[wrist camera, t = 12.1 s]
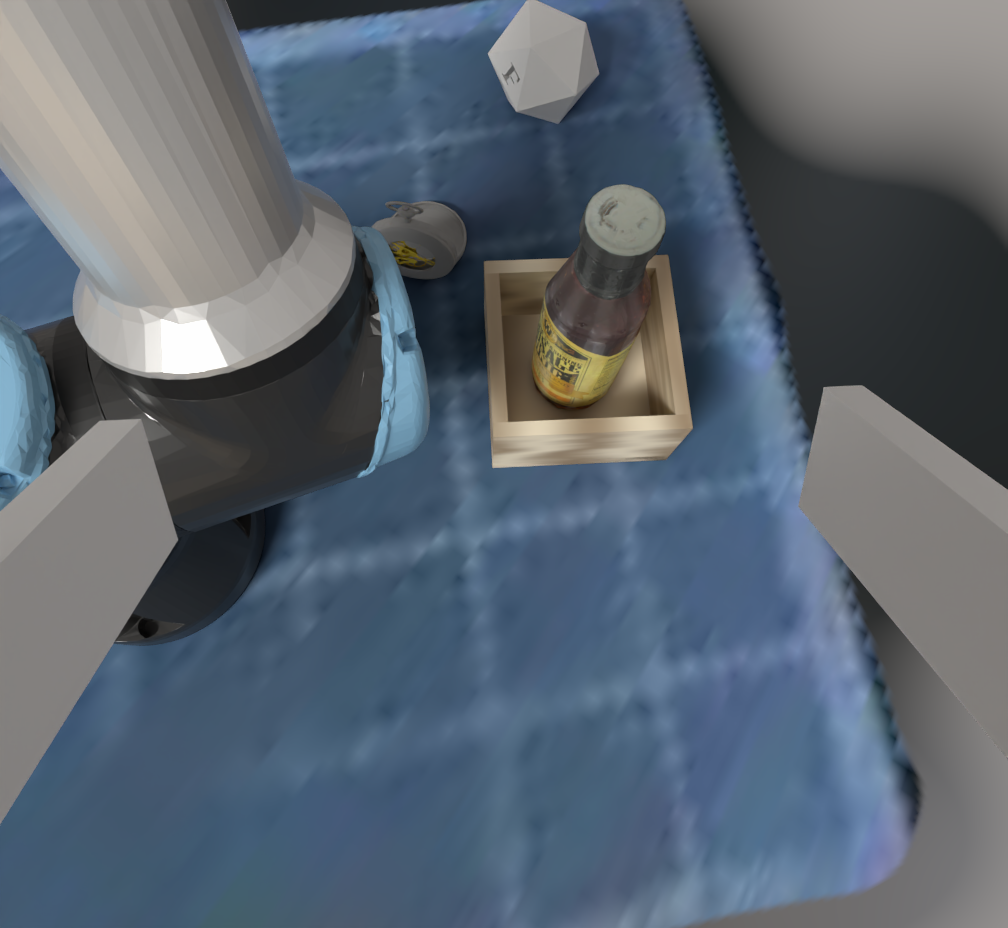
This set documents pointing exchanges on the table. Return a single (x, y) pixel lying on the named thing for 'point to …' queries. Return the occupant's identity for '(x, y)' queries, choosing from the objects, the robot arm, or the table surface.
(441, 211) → the pocket watch
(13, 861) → the table surface
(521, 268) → the crate
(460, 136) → the table surface
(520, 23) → the die
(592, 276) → the sauce bottle
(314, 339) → the robot arm
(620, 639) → the table surface
